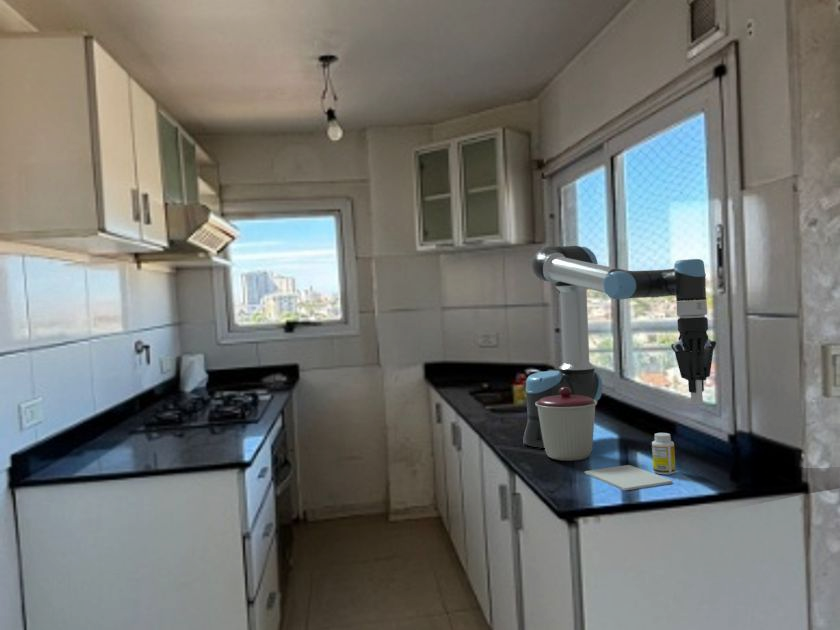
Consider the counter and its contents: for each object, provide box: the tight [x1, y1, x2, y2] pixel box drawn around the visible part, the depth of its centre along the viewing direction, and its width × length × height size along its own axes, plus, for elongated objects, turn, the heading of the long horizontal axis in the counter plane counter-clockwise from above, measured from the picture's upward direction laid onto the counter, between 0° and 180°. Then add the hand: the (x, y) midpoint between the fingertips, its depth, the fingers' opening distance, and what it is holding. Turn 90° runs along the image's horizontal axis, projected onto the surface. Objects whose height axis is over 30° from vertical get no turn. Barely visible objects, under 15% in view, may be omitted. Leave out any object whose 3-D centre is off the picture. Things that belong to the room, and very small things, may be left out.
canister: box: [535, 387, 598, 462], centre depth 193 cm, size 18×18×21 cm
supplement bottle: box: [651, 432, 677, 476], centre depth 171 cm, size 6×6×10 cm
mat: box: [584, 464, 674, 492], centre depth 168 cm, size 18×14×1 cm
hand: (697, 404), depth 174 cm, fingers closed
